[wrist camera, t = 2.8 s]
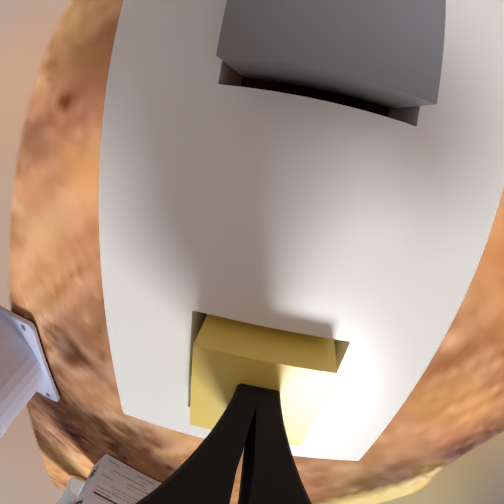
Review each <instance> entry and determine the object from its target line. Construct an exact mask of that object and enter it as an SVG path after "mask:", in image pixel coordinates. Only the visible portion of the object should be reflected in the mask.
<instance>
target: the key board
mask: <svg viewBox="0 0 504 504" xmlns="http://www.w3.org/2000/svg"><path fill="white" fill-rule="evenodd" d="M226 2H227V0H123V4H122V8H121V12H120V16H119V20H118V25H117V29H116V34H115V39H114V44H113V49H112V55H111V61H110V67H109V73H108V80H107V87H106V94H105V103H104V112H103V122H102V134H101V148H100V168H99V237H100V258H101V272H102V284H103V295H104V304H105V313H106V321H107V328H108V335H109V342H110V348H111V354H112V360H113V366H114V371H115V376H116V382H117V386H118V391H119V396H120V400H121V405H122V409H123V413H125V414H127V415H130V416H133V417H135V418H138V419H141V420H144V421H147V422H150V423H153V424H156V425H159V426H162V427H165V428H168V429H172V430H175V431H178V432H182V433H185V434H189V435H193V436H196V437H200V438H204V439H205V438H206V437H207V436H208V434H209V433H210V432H211V430H210V429H206V428H202V427H198V426H194V425H191V424H190V400H191V376H192V356H193V344H194V342H195V340H196V338H197V335H198V333H199V331H200V329H201V327H202V325H203V323H204V320H205V318H206V316H207V314H210V315H214V316H219V317H223V318H227V319H232V320H237V321H241V322H246V323H250V324H255V325H260V326H265V327H270V328H275V329H280V330H285V331H290V332H296V333H301V334H307V335H312V336H318V337H324V338H330V339H334V344H335V353H336V363H337V375H336V378H335V380H334V382H333V384H332V386H331V388H330V390H329V392H328V394H327V396H326V398H325V400H324V402H323V404H322V406H321V408H320V410H319V412H318V414H317V416H316V418H315V420H314V422H313V423H312V425H311V427H310V429H309V431H308V433H307V435H306V436H305V438H304V440H303V442H302V443H301V445H300V446H295V445H289V446H290V449H291V453H292V455H294V456H302V457H311V458H322V459H335V460H354V461H359V460H360V458H361V457H362V456H363V455H364V454H365V453H366V451H367V450H368V449H369V448H370V447H371V445H372V444H373V443H374V442H375V440H376V439H377V438H378V437H379V435H380V434H381V433H382V432H383V430H384V429H385V428H386V426H387V425H388V424H389V422H390V421H391V420H392V418H393V417H394V416H395V414H396V413H397V412H398V410H399V409H400V407H401V406H402V405H403V403H404V402H405V400H406V399H407V397H408V396H409V394H410V393H411V391H412V390H413V388H414V387H415V385H416V384H417V382H418V381H419V379H420V377H421V376H422V374H423V373H424V371H425V369H426V368H427V366H428V365H429V363H430V361H431V359H432V358H433V356H434V354H435V353H436V351H437V349H438V347H439V346H440V344H441V342H442V340H443V338H444V337H445V335H446V333H447V331H448V329H449V327H450V325H451V323H452V321H453V319H454V317H455V315H456V313H457V311H458V309H459V307H460V305H461V303H462V301H463V299H464V296H465V294H466V292H467V290H468V288H469V285H470V283H471V281H472V278H473V276H474V274H475V271H476V269H477V266H478V264H479V261H480V259H481V256H482V253H483V251H484V248H485V245H486V243H487V240H488V237H489V234H490V231H491V228H492V225H493V222H494V219H495V216H496V212H497V209H498V206H499V202H500V199H501V195H502V191H503V187H504V0H446V16H445V36H444V49H443V60H442V69H441V77H440V85H439V92H438V99H437V104H436V105H425V106H416V107H407V108H399V109H393V108H390V109H389V115H388V117H385V116H382V115H379V114H375V113H372V112H368V111H364V110H361V109H357V108H353V107H349V106H345V105H341V104H337V103H332V102H328V101H323V100H319V99H314V98H309V97H304V96H299V95H293V94H288V93H282V92H276V91H269V90H263V89H256V88H248V87H241V81H242V76H241V75H240V74H239V73H237V72H236V71H235V70H234V69H232V68H231V67H230V66H229V65H227V64H226V63H225V62H224V61H222V60H221V59H220V58H219V57H217V56H216V53H217V47H218V42H219V37H220V31H221V26H222V21H223V16H224V11H225V7H226Z"/></svg>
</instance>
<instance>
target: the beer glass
mask: <svg viewBox="0 0 504 504" xmlns="http://www.w3.org/2000/svg"><path fill="white" fill-rule="evenodd" d="M85 482H86V480H85V479H83V478H81V477H79V476H76V475H70V477H69V480H68V483H67V487H66V489H65V492H64V494H63V496H62V497H61V499H60V500H59V501H58V502H57V503H56V504H75V502H76V500H77V498H78V496H79V494H80V492H81V490H82V488H83V486H84V484H85Z"/></svg>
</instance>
